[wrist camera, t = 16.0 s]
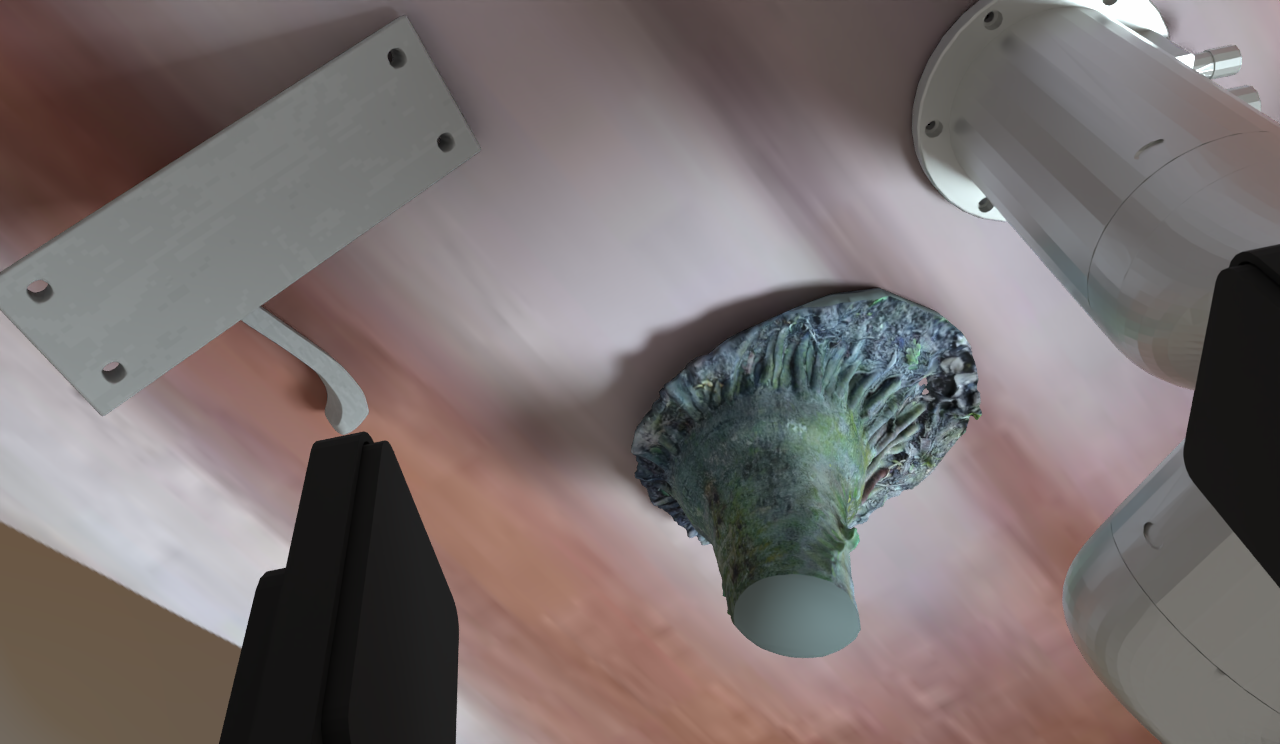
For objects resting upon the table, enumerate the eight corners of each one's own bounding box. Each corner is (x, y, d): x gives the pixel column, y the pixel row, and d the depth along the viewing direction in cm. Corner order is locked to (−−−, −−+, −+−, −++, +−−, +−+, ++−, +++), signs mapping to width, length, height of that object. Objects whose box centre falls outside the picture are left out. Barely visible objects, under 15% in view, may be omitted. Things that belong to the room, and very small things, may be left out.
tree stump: (952, 507, 69) (988, 756, 55) (649, 484, 71) (610, 717, 57) (1009, 274, 57) (1072, 513, 43) (645, 254, 59) (594, 477, 45)
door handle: (345, 9, 51) (-32, 245, 45) (407, 14, 45) (-22, 288, 39) (512, 289, 61) (218, 512, 55) (581, 325, 55) (258, 581, 49)
